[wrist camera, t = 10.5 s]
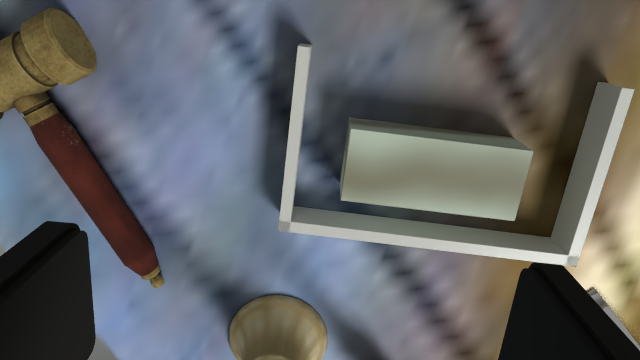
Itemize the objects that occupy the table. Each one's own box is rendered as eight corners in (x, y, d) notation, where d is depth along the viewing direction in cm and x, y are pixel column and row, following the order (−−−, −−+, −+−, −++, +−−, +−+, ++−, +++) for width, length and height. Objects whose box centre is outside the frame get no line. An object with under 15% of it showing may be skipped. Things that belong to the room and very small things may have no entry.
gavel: (209, 279, 37) (96, 326, 38) (220, 248, 41) (118, 291, 42) (34, 8, 29) (-98, 79, 31) (69, 4, 33) (-48, 67, 35)
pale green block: (348, 116, 36) (351, 128, 32) (512, 136, 36) (533, 151, 32) (339, 181, 37) (340, 200, 34) (495, 200, 38) (514, 221, 34)
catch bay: (300, 43, 34) (298, 45, 31) (609, 83, 34) (634, 89, 31) (282, 214, 38) (278, 230, 35) (557, 247, 38) (576, 266, 36)
